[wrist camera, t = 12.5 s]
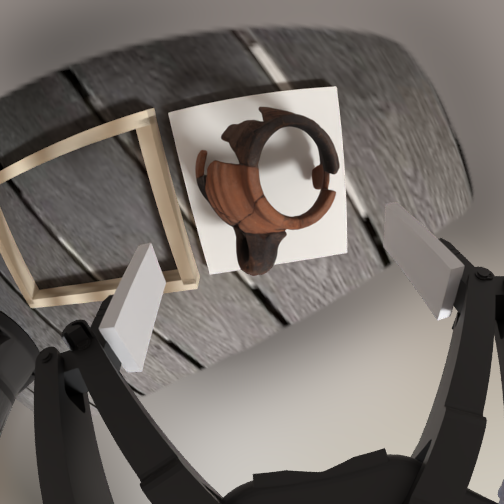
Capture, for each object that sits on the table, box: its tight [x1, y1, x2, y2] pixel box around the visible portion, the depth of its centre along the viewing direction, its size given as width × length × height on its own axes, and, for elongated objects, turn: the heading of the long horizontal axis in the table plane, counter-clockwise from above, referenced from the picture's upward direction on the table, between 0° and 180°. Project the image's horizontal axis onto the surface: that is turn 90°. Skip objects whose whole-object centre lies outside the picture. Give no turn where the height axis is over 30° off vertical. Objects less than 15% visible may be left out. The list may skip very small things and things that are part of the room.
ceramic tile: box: [168, 87, 347, 274], centre depth 25 cm, size 13×15×1 cm
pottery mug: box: [195, 107, 340, 276], centre depth 22 cm, size 12×10×8 cm
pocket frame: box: [0, 108, 200, 308], centre depth 25 cm, size 22×16×2 cm
